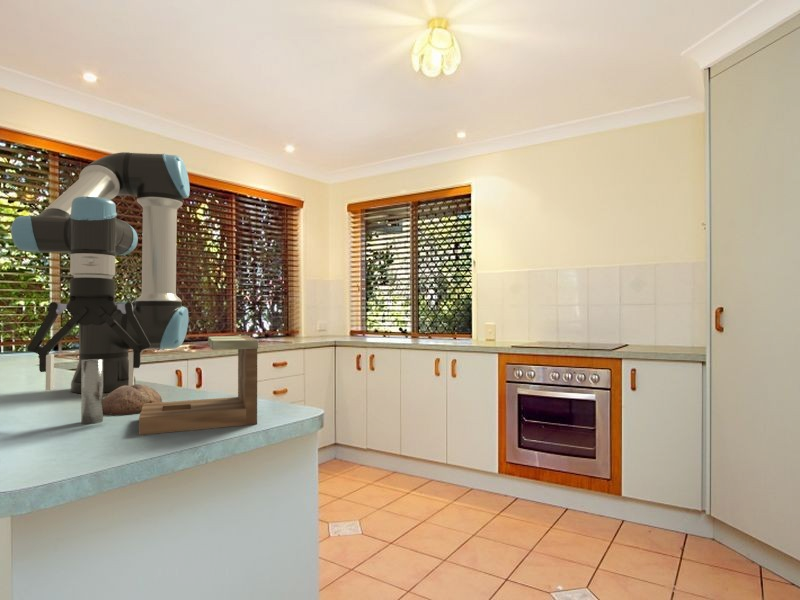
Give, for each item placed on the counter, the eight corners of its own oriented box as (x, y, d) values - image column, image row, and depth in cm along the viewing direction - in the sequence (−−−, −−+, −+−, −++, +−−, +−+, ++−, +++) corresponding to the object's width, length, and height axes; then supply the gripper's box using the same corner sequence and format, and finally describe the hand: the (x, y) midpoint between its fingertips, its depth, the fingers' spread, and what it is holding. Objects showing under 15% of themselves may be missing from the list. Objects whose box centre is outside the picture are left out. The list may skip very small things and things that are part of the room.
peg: (82, 420, 99) (83, 359, 99) (104, 419, 100) (104, 358, 101) (79, 424, 96) (80, 361, 96) (101, 422, 97) (101, 360, 97)
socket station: (144, 417, 102) (144, 338, 102) (247, 409, 110) (247, 335, 110) (138, 436, 87) (139, 343, 87) (257, 425, 95) (258, 340, 95)
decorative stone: (128, 418, 103) (128, 391, 103) (86, 413, 107) (86, 387, 107) (173, 407, 114) (173, 382, 114) (134, 403, 118) (134, 379, 118)
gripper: (8, 274, 90) (6, 394, 89) (163, 277, 100) (162, 385, 99) (20, 277, 97) (18, 388, 96) (164, 280, 107) (163, 381, 106)
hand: (91, 387), depth 98 cm, fingers open, 13 cm apart
